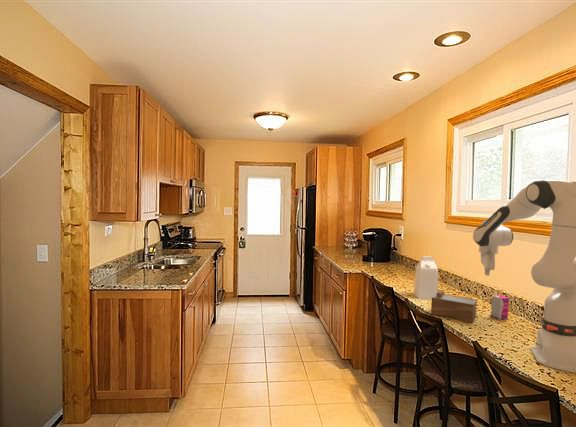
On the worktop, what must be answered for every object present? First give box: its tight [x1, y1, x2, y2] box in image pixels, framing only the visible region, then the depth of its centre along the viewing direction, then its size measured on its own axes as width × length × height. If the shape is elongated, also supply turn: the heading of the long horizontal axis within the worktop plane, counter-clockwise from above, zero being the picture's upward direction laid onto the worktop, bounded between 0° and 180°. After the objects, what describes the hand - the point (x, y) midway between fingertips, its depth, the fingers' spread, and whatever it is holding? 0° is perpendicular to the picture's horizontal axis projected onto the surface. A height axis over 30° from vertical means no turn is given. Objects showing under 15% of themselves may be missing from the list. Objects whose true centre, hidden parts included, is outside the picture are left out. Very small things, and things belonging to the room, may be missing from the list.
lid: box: [432, 289, 477, 305], centre depth 189 cm, size 9×20×4 cm, turn 54°
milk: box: [413, 255, 439, 300], centre depth 226 cm, size 12×12×26 cm
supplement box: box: [490, 294, 510, 320], centre depth 188 cm, size 6×6×12 cm
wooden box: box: [430, 294, 478, 324], centre depth 189 cm, size 12×20×9 cm, turn 54°
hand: (486, 275), depth 190 cm, fingers closed
